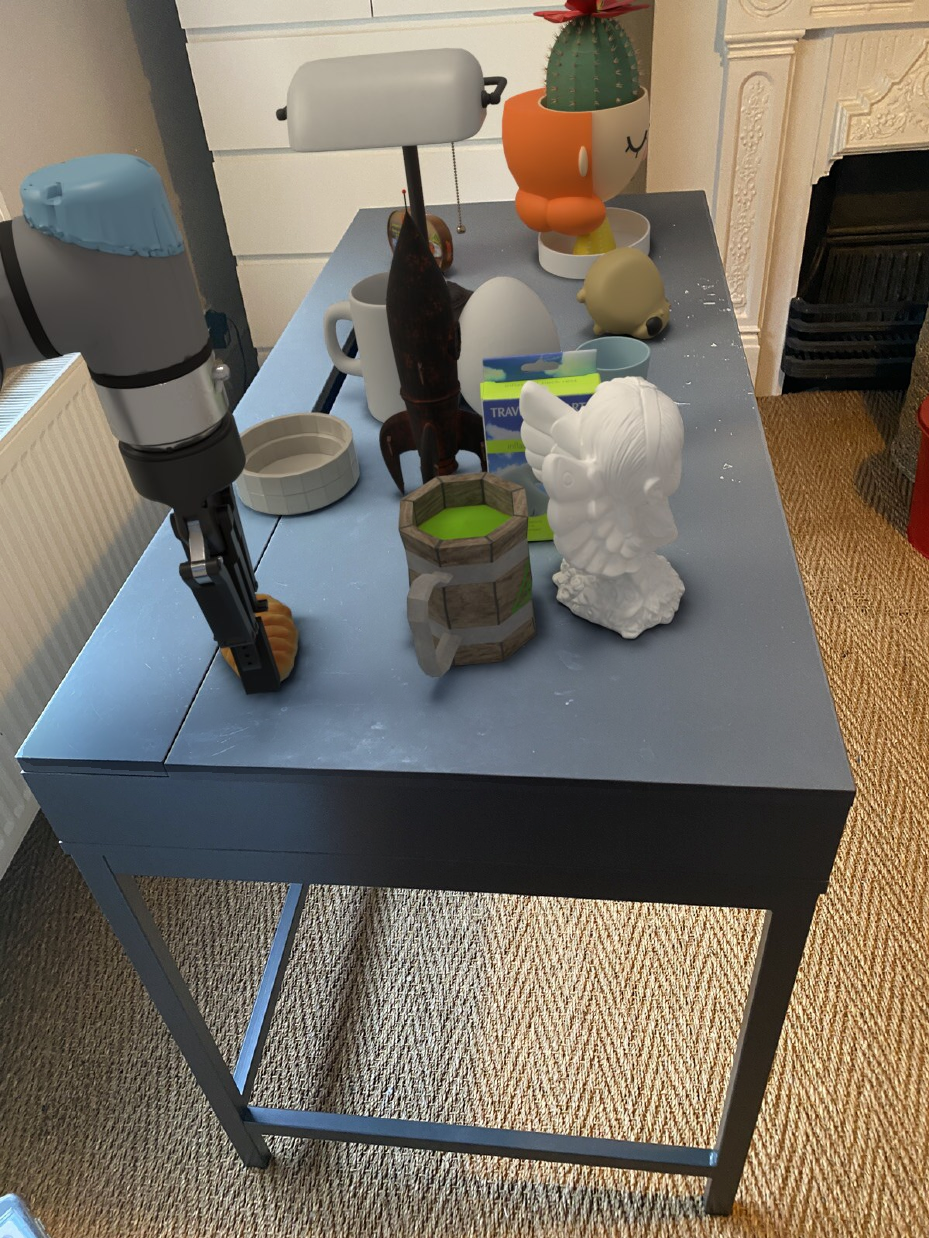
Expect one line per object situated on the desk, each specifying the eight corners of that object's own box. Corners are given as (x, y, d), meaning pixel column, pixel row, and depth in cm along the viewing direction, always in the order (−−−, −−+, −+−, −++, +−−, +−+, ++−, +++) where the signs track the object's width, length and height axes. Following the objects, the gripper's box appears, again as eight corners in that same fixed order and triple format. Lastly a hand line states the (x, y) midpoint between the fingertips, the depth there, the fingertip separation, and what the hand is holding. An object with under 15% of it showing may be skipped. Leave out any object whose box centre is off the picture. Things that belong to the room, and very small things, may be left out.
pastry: (314, 678, 77) (305, 644, 74) (235, 705, 76) (222, 671, 73) (291, 613, 84) (281, 580, 81) (217, 636, 83) (205, 603, 80)
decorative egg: (570, 382, 112) (567, 257, 103) (551, 433, 103) (545, 302, 94) (473, 379, 115) (461, 257, 106) (446, 428, 107) (430, 301, 97)
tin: (389, 260, 151) (381, 206, 145) (405, 254, 152) (397, 200, 147) (443, 282, 141) (436, 225, 136) (459, 276, 142) (454, 219, 137)
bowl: (236, 527, 95) (223, 486, 92) (242, 462, 106) (230, 423, 102) (363, 506, 96) (355, 464, 93) (357, 444, 106) (349, 404, 103)
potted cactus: (654, 226, 150) (662, -36, 127) (642, 280, 134) (649, -10, 111) (523, 230, 155) (508, -22, 133) (496, 282, 139) (474, 5, 116)
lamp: (312, 369, 122) (247, 78, 100) (356, 295, 140) (310, 35, 118) (511, 364, 118) (489, 57, 96) (531, 289, 136) (516, 16, 114)
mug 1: (472, 384, 114) (460, 267, 105) (443, 430, 106) (428, 308, 97) (355, 378, 119) (334, 266, 110) (320, 421, 111) (293, 304, 102)
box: (493, 546, 89) (476, 378, 77) (493, 521, 92) (477, 357, 80) (605, 539, 88) (604, 368, 76) (601, 514, 91) (600, 347, 80)
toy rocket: (434, 530, 91) (388, 215, 72) (385, 495, 97) (331, 194, 78) (504, 495, 95) (478, 185, 76) (453, 463, 101) (417, 167, 81)
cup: (592, 468, 97) (591, 375, 90) (564, 435, 103) (562, 346, 96) (659, 451, 98) (663, 358, 92) (628, 419, 104) (629, 330, 98)
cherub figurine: (703, 642, 76) (723, 423, 63) (551, 662, 76) (540, 447, 63) (663, 548, 86) (672, 342, 73) (529, 566, 86) (514, 363, 73)
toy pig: (617, 372, 121) (680, 325, 113) (555, 303, 118) (616, 249, 110) (636, 338, 127) (697, 290, 120) (578, 271, 124) (637, 218, 116)
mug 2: (443, 576, 86) (426, 464, 78) (555, 595, 82) (550, 479, 74) (369, 693, 75) (341, 577, 67) (494, 721, 71) (480, 601, 64)
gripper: (226, 465, 55) (310, 736, 70) (237, 371, 65) (309, 626, 80) (98, 485, 54) (211, 753, 70) (130, 388, 64) (222, 641, 80)
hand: (263, 685), depth 75 cm, fingers closed
